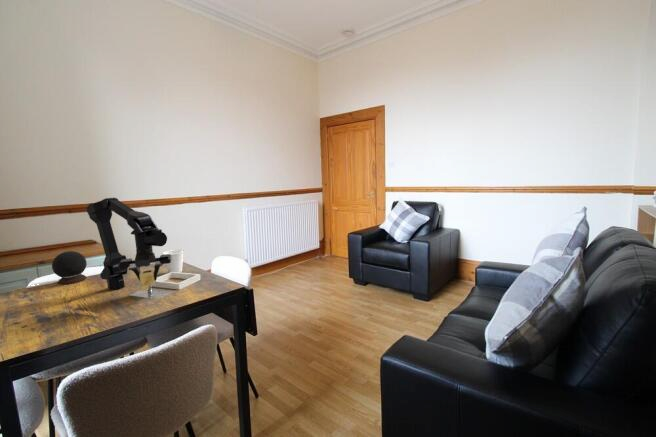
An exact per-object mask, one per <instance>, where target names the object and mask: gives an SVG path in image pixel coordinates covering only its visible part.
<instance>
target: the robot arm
mask: <svg viewBox="0 0 656 437" xmlns="http://www.w3.org/2000/svg"><path fill="white" fill-rule="evenodd" d="M113 212H114V213H115V214H116V215H118V216H120V217H122V218H123V219H124V220H126V223H127V225H128V226H129V228H131V229H132V231H131V232H130V235H134V243H135V248H136V249H135V251H136V254H135V258H134V259H133V258H127V257H126V255H125V254H124V255H123V254H122V253H121V252H119V249H118V245H117V244H118V243H117V241H116V238H115V234H114V231H113V227H112V224H111V219H112V216H113ZM86 213H87V214H88V218H89V219H90V220H91V221H92V222H94V223H95V224H96V226H97V230H98V233H99V237H100V241H101V244H102V247H103V250H104V254H105V257H104V260H103V262H102V263H103V264H102V265H103V269H102V271H101V272H100V274H99V276H100V278H101V280H106V286H107V289H108V290H109V291H114V290H115V291H116V290H122V289H124V288H125V287H126V286H125V279H124V275H127V274H128V271H132V272H133V273H134V274H135V276H136V277H137V279H138V281H139V282H140V275H139V274H140V273H141V271H142V270H141V267H149V266H151V264H153V263H154V265H153V266H154V269H155V280H156V279H157V277H158V274H159V271H160V268H161V267H162V266H163V265H164V264H165V265H166V264H167V263H171V260H172V257H171V255H170V254H166V255H163V254H161V255H160V256H158V257H156V254H155V252H154V251H153V247H164V246H165V245H166V244H167V242H168V236H167V235H166V233H165V232H163V230H162V229H161V228H158V225H157V224H156V223H155V221H154V220H153V218H152V217H151V215H150V214H148V213H145V212H143V211H142V212H141V211H137V210H135V209H133V208H131V207H130V206H128V205H126V204H125V203H123V202H121V201H120V200H119V199H118V198H117V197H106V198H103V199H101V200H99V201H96V202H94V203H93V202H91V203H88V205H87V207H86Z"/></svg>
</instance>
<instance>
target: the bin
mask: <svg viewBox="0 0 656 437" xmlns="http://www.w3.org/2000/svg"><path fill="white" fill-rule="evenodd" d="M172 278H173V279H183V280H182V281H180V282H172V281H168V280H170V279H172ZM200 280H201V274H200V273H189V272H188V273H187V272H181V273H180V272H170V273H169V272H168V273H165V274H162V275H160V276H157V279H156V282H155V284H151V285H150V286H152V288H159V289H168V290H182V289H184V288H187V287H188V286H190V285H192V284H195V283H196V282H198V281H200Z"/></svg>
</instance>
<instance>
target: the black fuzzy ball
mask: <svg viewBox="0 0 656 437" xmlns="http://www.w3.org/2000/svg"><path fill="white" fill-rule="evenodd" d="M87 265H88V264H87V259H86V257H85V256H84V255H83V254H82V253H80V252H78V251H73V250H69V251H64V252H61V253H59V254H58V255H56V256H55V257H54V259H53V260H52V263H51V269H52V271H53V273H54V274H55V275H56V276H57V277H60V278H59V279H58V280H57V285H58V286H68V285H74V284H77V283H81V282H84V281H86V280H87V279H86V278H87V276H86V275H85V274H83V272H84V271H85V270H86V268H87ZM85 279H86V280H85Z"/></svg>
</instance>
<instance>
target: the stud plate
mask: <svg viewBox="0 0 656 437" xmlns="http://www.w3.org/2000/svg"><path fill="white" fill-rule="evenodd" d="M174 292H175V289H166V288H157V287H152V286H149V290H145V291H141V289H140V290H137V291H135V292H134V293H131V294H129V296H131V297H140V298H147V299H154V300H159V299H161V298H163V297H166V296H167V295H168V296H169V295H170V294H173V293H174Z"/></svg>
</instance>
